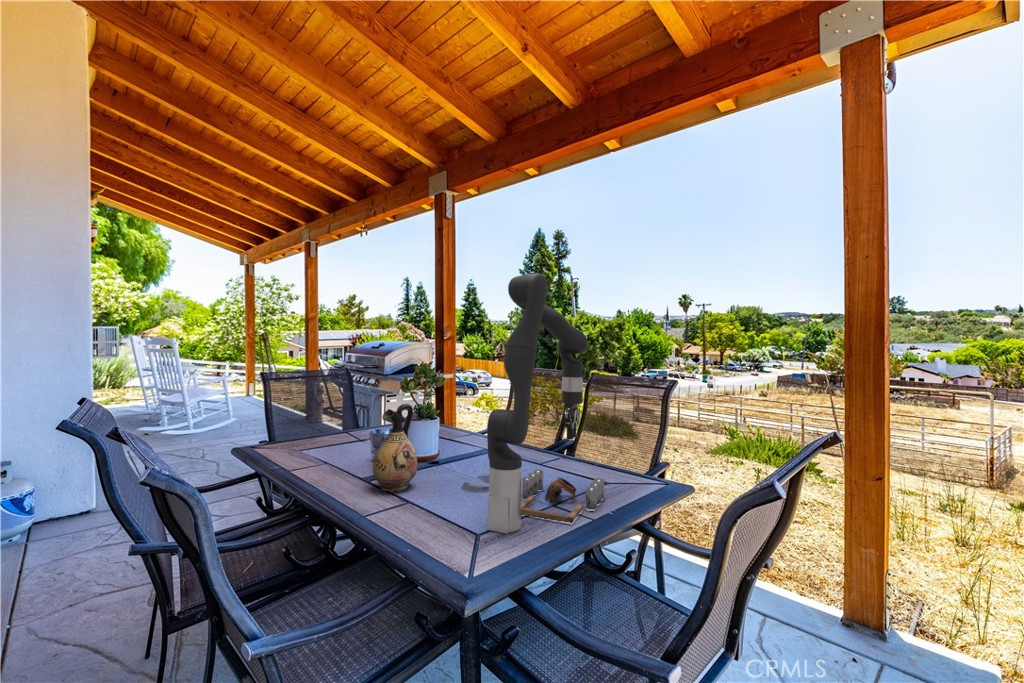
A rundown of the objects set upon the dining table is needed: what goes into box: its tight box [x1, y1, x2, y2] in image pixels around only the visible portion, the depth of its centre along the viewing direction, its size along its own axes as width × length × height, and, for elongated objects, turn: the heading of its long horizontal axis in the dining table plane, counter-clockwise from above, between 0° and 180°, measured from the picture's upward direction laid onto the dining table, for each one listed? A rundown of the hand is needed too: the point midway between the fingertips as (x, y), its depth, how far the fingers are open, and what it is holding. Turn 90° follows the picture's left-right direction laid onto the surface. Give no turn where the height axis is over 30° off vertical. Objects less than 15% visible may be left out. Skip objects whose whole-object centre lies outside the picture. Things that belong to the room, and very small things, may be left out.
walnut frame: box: [521, 496, 585, 523], centre depth 138 cm, size 12×18×2 cm
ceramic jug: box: [372, 403, 418, 493], centre depth 159 cm, size 17×15×30 cm
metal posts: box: [521, 468, 605, 509], centre depth 150 cm, size 14×26×7 cm, turn 65°
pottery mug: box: [544, 477, 577, 502], centre depth 148 cm, size 12×10×8 cm
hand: (571, 438), depth 158 cm, fingers open, 3 cm apart
